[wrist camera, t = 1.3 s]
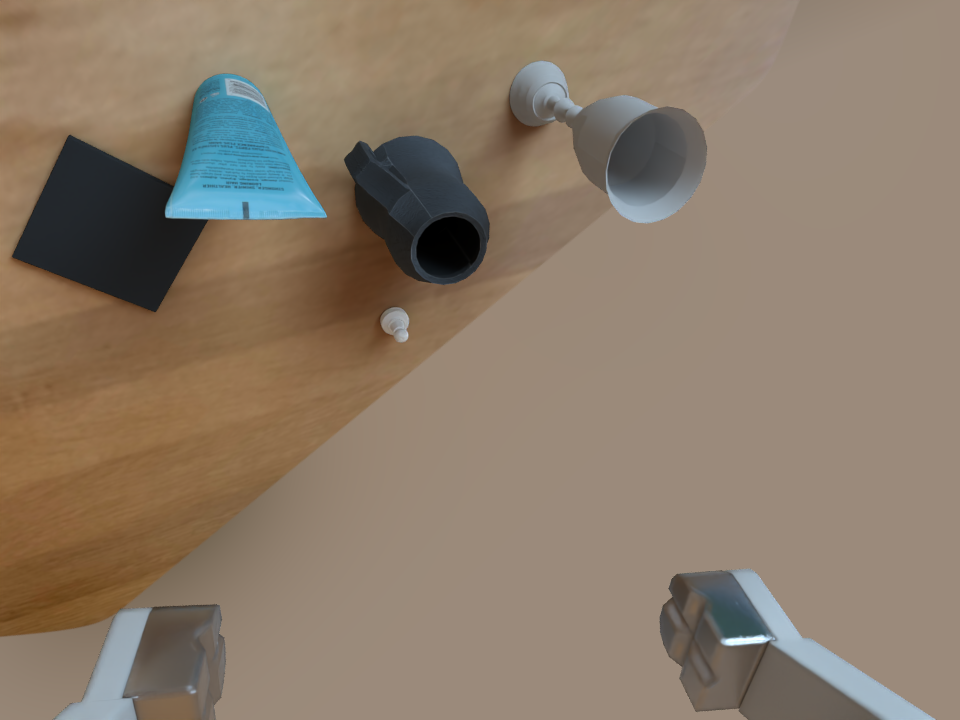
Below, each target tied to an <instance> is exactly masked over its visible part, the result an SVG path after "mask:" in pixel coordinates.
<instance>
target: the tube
mask: <svg viewBox="0 0 960 720" xmlns="http://www.w3.org/2000/svg"><path fill="white" fill-rule="evenodd" d="M165 217H166V218H180V219H217V220H283V219H298V218H327V215H326V213H325V211H324V209H323V208H322V206H321V205H320V203H319V202H318V200H317V199H316V197H315V196H314V194H313V192H312V191H311V189H310V187H309V186H308V184H307V182H306V180H305V179H304V177H303V175H302V173H301V172H300V170H299V168H298V166H297V164H296V162H295V160H294V158H293V157H292V155H291V153H290V151H289V149H288V147H287V145H286V143H285V141H284V139H283V137H282V134H281V132H280V130H279V128H278V126H277V124H276V122H275V120H274V118H273V116H272V114H271V112H270V110H269V107H268V105H267V103H266V101H265V99H264V97H263V95H262V94H261V92H260V91H259V90H258V88H257V87H256V86H255V85H254V84H252V83H251V82H250V81H248V80H247V79H245V78H243V77H240V76H238V75H234V74H219V75H215V76H212V77H210V78H208V79H207V80H205V81H204V82H203V83H202V84H201V85H200V87H199V88H198V90H197V92H196V94H195V97H194V103H193V109H192V116H191V123H190V129H189V135H188V140H187V144H186V149H185V153H184V157H183V161H182V164H181V168H180V171H179V175H178V178H177V180H176V183H175V186H174V188H173V191H172V193H171V196H170V198H169V200H168V202H167V205H166V209H165Z"/></svg>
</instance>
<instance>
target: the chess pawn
mask: <svg viewBox="0 0 960 720" xmlns="http://www.w3.org/2000/svg"><path fill="white" fill-rule="evenodd" d="M380 323H381V326H382V328H383V330H384V331H385V332H386V333H388V334H391V335H393V336H394V338H395V340H396V341H397V342H400V343H402V342H405V341H406V340H407V339H408V332H407V330H406V329H407V327H408V325H409V318H408V315H407V313H406V312H405V311H404V310H403V309H401V308H398V307H392V308H389V309H387V310H386V311H385V312H384V313H383V314H382V315H381V318H380Z"/></svg>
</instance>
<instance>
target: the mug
mask: <svg viewBox="0 0 960 720" xmlns="http://www.w3.org/2000/svg"><path fill="white" fill-rule="evenodd" d="M344 161H345V164H346V166H347V168H348V170H349V172H350V174H351V176H352V178H353V179H354V181H355V183H356V186H355V196H356V206H357V208H358V210H359V213H360V215H361V217H362V219H363V221H364V222H365V223H366V224H367V225H368V226H369V227H370V229H371V230H372V231H373V232H374V233H376V234H377V235H378V236H380V237H381V238H383V239H384V240H385V242H386V244H387V247H388V249H389V251H390V253H391V255H392V257H393V259H394V261H395V263H396V264H397V265H398V266H399V267H400V268H401V270H402V271H403V272H404V273H405V274H406V275H408V276H410V277H412V278H414V279H416V280H418V281H422V282H429V283H435V284H442V285H446V284H453V283H457V282H459V281H461V280H464V279H466V278H467V277H468V276H470V275H471V274H472V273H473V272H475V271H476V269H477V268H478V267H479V265H480V264H481V262H482V261H483V258H484V255H485V252H486V249H487V242H488V240H489V225H490V223H489V220H488V216H487V213H486V210H485V208H484V207H483V205H482V204H481V203H480V201H479V200H478V199H477V197H476V196H475V195H474V194H473V193H472V192H471V191H470V190H469V188H468V187H467V186H466V185H465V184H463V180H462V177H461V174H460V170H459V167H458V164H457V162H456V161H455V159H454V158H453V157H452V155H451V154H450V152H449V151H448V150H447V149H446V148H444V147H443V146H441V145H440V144H438V143H437V142H435V141H434V140H431V139H427V138H423V137H419V136H407V137H398V138H396V139H393V140H391V141H389V142H386V143H384V144H382V145H381V146H380V147H378V148H377V149H376V150H375V151H374V152H373V151H372V150H371V148H370V147H369V146H368V144H366V143H364V142H362V141H359V142H358V143H357V144H356V145H355V147H354V149H353V150H352V151H351V152H350V153H349V154H348V155H347V156H346V157H345V159H344Z"/></svg>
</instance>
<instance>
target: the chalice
mask: <svg viewBox="0 0 960 720" xmlns="http://www.w3.org/2000/svg"><path fill="white" fill-rule="evenodd" d="M510 106H511V109H512V111H513V114H514V115H515V117H516V118H517V119H518V120H519V121H520V122H522V123H524V124H526V125H527V126H541V125H545V124H548V123H552V122H554V121H555V120H557V121H559V122H566V124H567V125H568V127H570V128H572V130H573V145H574V150H575V153H576V156H577V158H578V161H579V164H580V166H581V169H582V172H583V173H584V174H585V175H586V177H587V178H588V179H589V180H590V181H591V182H592V183H593V184H595V185H596V186H597V187H599V188H600V189H601V190H603V191H604V192H605V193H607V194H608V195H609V198H610V200H611V203H612V205H613V206H614V207H615V208H616V209H617V211H618V212H619V213H620V214H621V215H622V216H624V217H626V218H627V219H629V220H631V221H633V222H641V223H651V222H655V221H659V220H663V219H665V218H667V217H668V216H670V215H672V214H673V213H675V212H677V211H678V210H679V209H680V208H681V207H682V206H683V205H684V204H685V203H686V202H687V201H688V200H689V199H690V198H691V196H692V195H693V193H694V192H695V190H696V188H697V187H698V185H699V183H700V181H701V178H702V175H703V172H704V169H705V166H706V155H707V145H706V140H705V136H704V131H703V130H702V128H701V126H700V125H699V123H698V122H697V120H696V118H694V117H693V116H692V115H690V114H689V113H687V112H686V111H685V110H683V109H678V108H673V107H668V106H667V107H662V108H657V107H655V106H653V105H651V104H649V103H647V102H645V101H643V100H641V99H639V98H636V97H631V96H626V95H622V96H617V97H611V98H606V99H601V100H598V101H596V102H594V103H592V104H591V105H589V106H587V107H585V108H584V109H582V107H580V106H574V103H573V102H572V100H570V99H569V93H568V87H567V83H566V80H565V77H564V74H563V73H562V71H561V70H560V69H559V68H558V67H557V66H556V65H554V64H552V63H551V62H546V61H538V62H533V63H531V64H529V65H527V66H526V67H524V68H523V69H522V70H521V71H520V72H519V73H518V74H517V76H516V77H515V79H514V81H513V83H512V85H511V91H510Z"/></svg>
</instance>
